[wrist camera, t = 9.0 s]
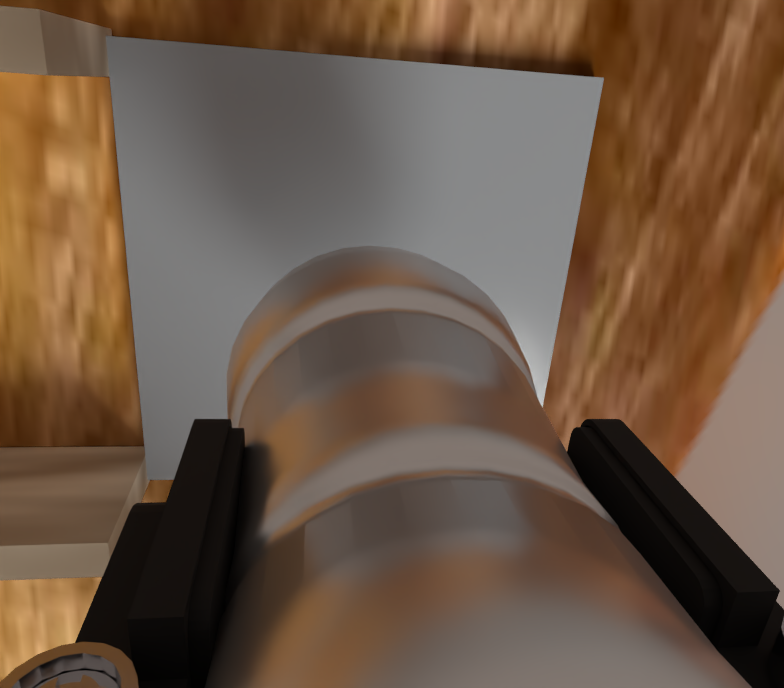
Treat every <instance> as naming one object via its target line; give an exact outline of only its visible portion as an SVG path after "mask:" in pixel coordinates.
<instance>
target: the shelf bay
mask: <svg viewBox="0 0 784 688" xmlns="http://www.w3.org/2000/svg"><path fill="white" fill-rule="evenodd" d="M106 36H112V29H110V28H106V27H102V26H99V25H95V24H91V23H88V22H84V21H80V20H77V19H73V18H69V17H66V16H62V15H58V14H55V13H51V12H47V11H44V10H40V9H31V8H20V7H9V6H0V72H11V73H24V74H37V75H57V76H96V77H110V76H109V65H108V55H107V44H106ZM149 481H150V480H148V479H147V469H146V458H145V447H144V446H126V447H0V580H25V579H52V578H80V577H103V575H104V572H105V570H106V567H107V565H108V562H109V560H110V558H111V555H112V553H113V550H114V548H115V546H116V543H117V541H118V538H119V536H120V533H121V531H122V529H123V526H124V524H125V521H126V519H127V517H128V514H129V512H130V510H131V508H132V506H133V505H134V504H136V503H141V502H142V499H143V496H144V494H145V491H146V489H147V486H148V484H149Z"/></svg>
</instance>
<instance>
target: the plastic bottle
mask: <svg viewBox="0 0 784 688" xmlns="http://www.w3.org/2000/svg"><path fill="white" fill-rule="evenodd" d="M226 380H227V416H228V419H231V422H232V428H244V432H245V451H244V459H243V468H242V476H241V484H240V494H239V505H238V515H237V526H236V536H235V547H234V555H233V559H232V564H231V569H230V573H229V578H228V583H227V587H226V592H225V611H224V613H223V615H222V617H221V619H220V621H219V626H218V630H217V635H216V640H215V645H214V650H213V655H212V660H211V664H210V668H209V672H208V676H207V680H206V684H205V688H752V687H751V686H750V685H749V684H748V683H747V682H746V681H745V680H744V679H743V677H742V676H741V675H740V674H739V673H738V672H737V671H736V670H735V669H734V668H733V667H732V666H731V665H730V664H729V663H728V662H727V661H726V659H725V658H724V657H723V656H722V655H721V654H720V653H719V652H718V651H717V650H716V648H715V647H714V646H713V645H712V643H711V642H710V641H709V640H708V638H707V637H706V636H705V635H704V633H703V632H702V631H701V629H700V628H699V627H698V626H697V624H696V623H695V622H694V621H693V619H692V618H691V617H690V616H689V614H688V613H687V612H686V611H685V609H684V608H683V607H682V606H681V604H680V603H679V602H678V601H677V599H676V598H675V597H674V596H673V594H672V593H671V592H670V590H669V589H668V588H667V587H666V585H665V584H664V583H663V582H662V580H661V579H660V578H659V577H658V575H657V574H656V573H655V572H654V570H653V569H652V568H651V567H650V565H649V564H648V563H647V562H646V560H645V559H644V558H643V556H642V555H641V554H640V553H639V552H638V551H637V550H636V548H635V547H634V546H633V545H632V544H631V543H630V542H629V541H628V539H627V538H626V537H625V536H624V535H623V534H622V533H621V531H620V529H619V527H618V525H617V524H616V523H615V521H614V520H613V519H612V518H611V516H610V515H609V514H608V513H607V511H606V510H605V509H604V508H603V506H602V505H601V504H600V503H599V501H598V500H597V499H596V498H595V496H594V495H593V494H592V493H591V491H590V490H589V489H588V488H587V487H586V485H585V484H584V483H583V481H582V479H581V478H580V476H579V474H578V472H577V470H576V468H575V467H574V465H573V463H572V461H571V459H570V457H569V456H568V454H567V452H566V450H565V448H564V446H563V445H562V443H561V441H560V439H559V437H558V435H557V433H556V432H555V430H554V428H553V426H552V424H551V422H550V421H549V419H548V417H547V415H546V413H545V411H544V409H543V408H542V406H541V404H540V402H539V400H538V397H537V393H536V389H535V386H534V382H533V378H532V375H531V371H530V367H529V365H528V363H527V361H526V359H525V357H524V354H523V352H522V350H521V348H520V346H519V344H518V341H517V339H516V337H515V335H514V333H513V331H512V330H511V328H510V326H509V324H508V322H507V320H506V318H505V316H504V314H503V313H502V312H501V311H500V310H499V308H498V307H497V306H496V305H495V304H494V302H493V301H492V300H491V299H490V297H489V296H488V295H487V294H486V293H485V292H483V291H482V290H481V289H480V288H478V287H477V286H476V285H475V284H473V283H472V282H471V281H470V280H468V279H467V278H466V277H465V276H463V275H461V274H459V273H457V272H455V271H453V270H451V269H449V268H447V267H445V266H443V265H441V264H440V263H438V262H436V261H433V260H431V259H429V258H427V257H425V256H423V255H420V254H417V253H413V252H410V251H406V250H403V249H399V248H393V247H382V246H370V245H369V246H360V247H350V248H342V249H339V250H335V251H332V252H329V253H326V254H322V255H319V256H316V257H314V258H312V259H311V260H309V261H307V262H305V263H303V264H301V265H299V266H298V267H296V268H294V269H292V270H291V271H290V272H289V273H288V274H286V275H285V276H284V277H283V278H282V279H281V280H279V281H278V282H277V283H276V284H275V285H273V286H272V288H271V289H270V290H269V291H268V292H267V293H266V295H265V296H264V297H263V298H262V299H261V301H260V302H259V303H258V305H257V306H256V307H255V308H254V310H253V311H252V312H251V314H250V315H249V316H248V317H247V319H246V320H245V321H244V323H243V325H242V327H241V329H240V332H239V334H238V336H237V338H236V340H235V342H234V344H233V346H232V350H231V355H230V359H229V364H228V369H227V374H226Z"/></svg>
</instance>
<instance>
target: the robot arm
mask: <svg viewBox="0 0 784 688" xmlns="http://www.w3.org/2000/svg"><path fill="white" fill-rule="evenodd" d="M244 451H245V432H244V428H232V422H231V419H195V420H194V422H193V424H192V427H191V430H190V433H189V436H188V439H187V442H186V445H185V448H184V451H183V454H182V457H181V460H180V463H179V466H178V469H177V472H176V475H175V478H174V481H173V484H172V487H171V490H170V493H169V496H168V499H167V502H163V503H136V504H134V505H133V506H132V508H131V510H130V512H129V514H128V517H127V519H126V521H125V524H124V526H123V529H122V531H121V533H120V536H119V538H118V541H117V543H116V546H115V548H114V550H113V553H112V555H111V558H110V560H109V562H108V565H107V567H106V570H105V572H104V575H103V577H102V579H101V582H100V584H99V587H98V589H97V591H96V594H95V596H94V599H93V601H92V603H91V606H90V608H89V611H88V613H87V616H86V618H85V620H84V623H83V625H82V628H81V630H80V632H79V635H78V637H77V640H76V642H75V643H73V644H67V645H61V646H58V647H56V648H53V649H51V650H48V651H45V652H43V653H40V654H38V655H36V656H34V657H33V658H31V659H29V660H28V661H26V662H25V663H23V664H21V665H20V666H18V667H17V668H15V669H14V670H13V671H12V672H11V673H10V674H9V675H8V676H6V677H5V678H4V679H3V680H2V681H1V682H0V688H205V684H206V680H207V676H208V672H209V668H210V664H211V660H212V655H213V650H214V645H215V640H216V635H217V630H218V626H219V621H220V619H221V617H222V615H223V613H224V611H225V592H226V587H227V583H228V578H229V573H230V569H231V564H232V559H233V555H234V547H235V536H236V526H237V515H238V505H239V494H240V484H241V476H242V468H243V459H244ZM567 454H568V456H569V457H570V459H571V461H572V463H573V465H574V467H575V468H576V470H577V472H578V474H579V476H580V478H581V479H582V481H583V483H584V484H585V485H586V487H587V488H588V489H589V490H590V491H591V493H592V494H593V495H594V496H595V498H596V499H597V500H598V501H599V503H600V504H601V505H602V506H603V508H604V509H605V510H606V511H607V513H608V514H609V515H610V516H611V518H612V519H613V520H614V521H615V523H616V524H617V525H618V527H619V529H620V531H621V533H622V534H623V535H624V536H625V537H626V538H627V539H628V541H629V542H630V543H631V544H632V545H633V546H634V547H635V548H636V550H637V551H638V552H639V553H640V554H641V555H642V556H643V558H644V559H645V560H646V562H647V563H648V564H649V565H650V567H651V568H652V569H653V570H654V572H655V573H656V574H657V575H658V577H659V578H660V579H661V580H662V582H663V583H664V584H665V585H666V587H667V588H668V589H669V590H670V592H671V593H672V594H673V596H674V597H675V598H676V599H677V601H678V602H679V603H680V604H681V606H682V607H683V608H684V609H685V611H686V612H687V613H688V614H689V616H690V617H691V618H692V619H693V621H694V622H695V623H696V624H697V626H698V627H699V628H700V629H701V631H702V632H703V633H704V635H705V636H706V637H707V638H708V640H709V641H710V642H711V643H712V645H713V646H714V647H715V648H716V650H717V651H718V652H719V653H720V654H721V655H722V656H723V657H724V658H725V659H726V661H727V662H728V663H729V664H730V665H731V666H732V667H733V668H734V669H735V670H736V671H737V672H738V673H739V674H740V675H741V676H742V677H743V679H744V680H745V681H746V682H747V683H748V684H749V685H750V686H751V687H752V688H784V610H783V608H782V607H781V606H780V605H779V604H778V603H777V602H776V599H777V597H778V594H779V592H780V590H779V589H778V588H777V587H776V586H775V585H774V584H773V583H772V582H771V581H770V580H769V579H768V577H767V576H766V575H765V574H764V573H763V572H762V571H761V570H760V569H759V568H758V567H757V566H756V564H755V563H754V562H753V561H752V560H751V559H750V558H749V557H748V556H747V555H746V554H745V553H744V552H743V551H742V549H741V548H739V546H738V545H737V544H736V543H735V542H734V541H733V540H732V539H731V538H730V537H729V535H728V534H727V533H726V532H725V531H724V530H723V529H722V528H721V527H720V526H719V525H718V524H717V523H716V521H715V520H714V519H713V518H712V517H711V516H710V515H709V514H708V513H707V512H706V511H705V510H704V509H703V507H702V506H701V505H700V504H699V503H698V502H697V501H696V500H695V499H694V498H693V497H692V496H691V495H690V494H689V493H688V491H687V490H686V489H684V487H683V486H682V485H681V484H680V483H679V482H678V481H677V479H676V478H675V477H674V476H673V475H672V474H671V473H670V472H669V471H668V470H667V469H666V468H665V467H664V466H663V464H662V463H661V462H660V461H659V460H658V459H657V458H656V457H655V456H654V455H653V454H652V453H651V452H650V450H649V449H648V448H647V447H646V446H645V445H644V444H643V443H642V442H641V441H640V440H639V439H638V438H637V436H636V435H635V434H634V433H633V432H632V431H631V430H630V429H629V428H628V427H627V426H626V425H625V424H624V422H622V421H621V420H619V419H586V420H585V421H584V422H583V423H582V425H581V427H576V428H574V429H573V431H572V433H571V437H570V441H569V446H568V451H567Z"/></svg>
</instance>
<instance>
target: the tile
mask: <svg viewBox="0 0 784 688" xmlns="http://www.w3.org/2000/svg"><path fill="white" fill-rule="evenodd" d="M106 44H107V55H108V65H109V76H110V87H111V97H112V108H113V118H114V129H115V140H116V150H117V161H118V171H119V182H120V193H121V203H122V214H123V225H124V235H125V246H126V256H127V267H128V278H129V288H130V299H131V309H132V320H133V331H134V341H135V352H136V363H137V373H138V384H139V394H140V405H141V416H142V426H143V437H144V447H145V458H146V469H147V479H148V480H174V478H175V475H176V472H177V469H178V466H179V463H180V460H181V457H182V454H183V451H184V448H185V445H186V442H187V439H188V436H189V433H190V430H191V427H192V424H193V422H194V420H195V419H228V416H227V380H226V374H227V369H228V364H229V359H230V355H231V350H232V346H233V344H234V342H235V340H236V338H237V336H238V334H239V332H240V329H241V327H242V325H243V323H244V321H245V320H246V319H247V317H248V316H249V315H250V314H251V312H252V311H253V310H254V308H255V307H256V306H257V305H258V303H259V302H260V301H261V299H262V298H263V297H264V296H265V295H266V293H267V292H268V291H269V290H270V289H271V288H272V286H273V285H275V284H276V283H277V282H278V281H279V280H281V279H282V278H283V277H284V276H285V275H286V274H288V273H289V272H290V271H291V270H292V269H294V268H296V267H298V266H299V265H301V264H303V263H305V262H307V261H309V260H311V259H312V258H314V257H316V256H319V255H322V254H326V253H329V252H332V251H335V250H339V249H342V248H350V247H360V246H369V245H370V246H382V247H393V248H399V249H403V250H406V251H410V252H413V253H417V254H420V255H423V256H425V257H427V258H429V259H431V260H433V261H436V262H438V263H440V264H441V265H443V266H445V267H447V268H449V269H451V270H453V271H455V272H457V273H459V274H461V275H463V276H465V277H466V278H467V279H468V280H470V281H471V282H472V283H473V284H475V285H476V286H477V287H478V288H480V289H481V290H482V291H483V292H485V293H486V294H487V295H488V296H489V297H490V299H491V300H492V301H493V302H494V304H495V305H496V306H497V307H498V308H499V310H500V311H501V312H502V313H503V314H504V316H505V318H506V320H507V322H508V324H509V326H510V328H511V330H512V331H513V333H514V335H515V337H516V339H517V341H518V344H519V346H520V348H521V350H522V352H523V354H524V357H525V359H526V361H527V363H528V365H529V367H530V371H531V375H532V378H533V382H534V386H535V389H536V393H537V397H538V400H539V402H540V404H541V406H542V407H543V401H544V396H545V391H546V385H547V380H548V375H549V369H550V364H551V358H552V353H553V348H554V342H555V337H556V332H557V326H558V321H559V316H560V310H561V305H562V300H563V294H564V289H565V283H566V278H567V273H568V267H569V262H570V257H571V251H572V246H573V241H574V235H575V230H576V225H577V219H578V214H579V208H580V203H581V198H582V192H583V187H584V182H585V176H586V171H587V166H588V160H589V155H590V150H591V144H592V139H593V133H594V128H595V123H596V117H597V112H598V107H599V101H600V96H601V91H602V85H603V80H604V78H598V77H587V76H575V75H563V74H551V73H540V72H528V71H516V70H504V69H492V68H481V67H469V66H457V65H445V64H434V63H422V62H410V61H398V60H387V59H375V58H363V57H351V56H339V55H328V54H316V53H304V52H292V51H281V50H269V49H257V48H245V47H233V46H222V45H210V44H198V43H186V42H175V41H163V40H151V39H139V38H127V37H116V36H106Z"/></svg>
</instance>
